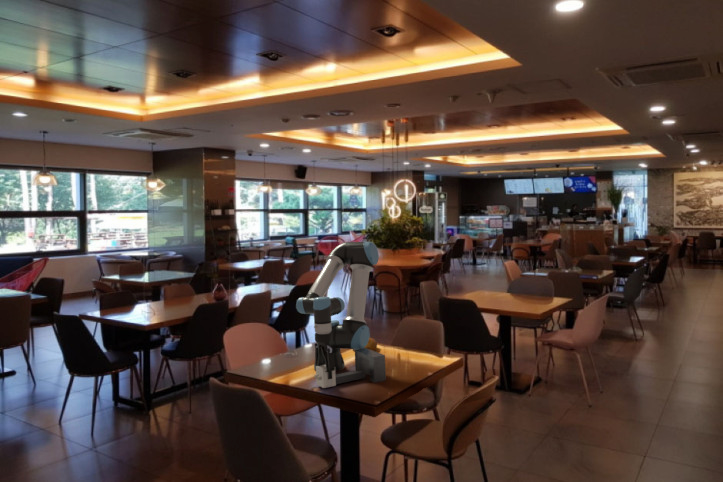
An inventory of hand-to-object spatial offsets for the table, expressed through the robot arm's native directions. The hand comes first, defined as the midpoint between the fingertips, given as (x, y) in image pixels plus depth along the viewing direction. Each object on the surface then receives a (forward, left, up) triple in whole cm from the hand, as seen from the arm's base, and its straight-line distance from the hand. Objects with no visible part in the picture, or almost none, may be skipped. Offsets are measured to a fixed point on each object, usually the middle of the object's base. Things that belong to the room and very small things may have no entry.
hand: (325, 383), depth 239 cm
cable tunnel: (0, +23, -2) cm, 23 cm away
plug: (0, +8, -1) cm, 8 cm away
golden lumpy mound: (-47, +48, -2) cm, 67 cm away
